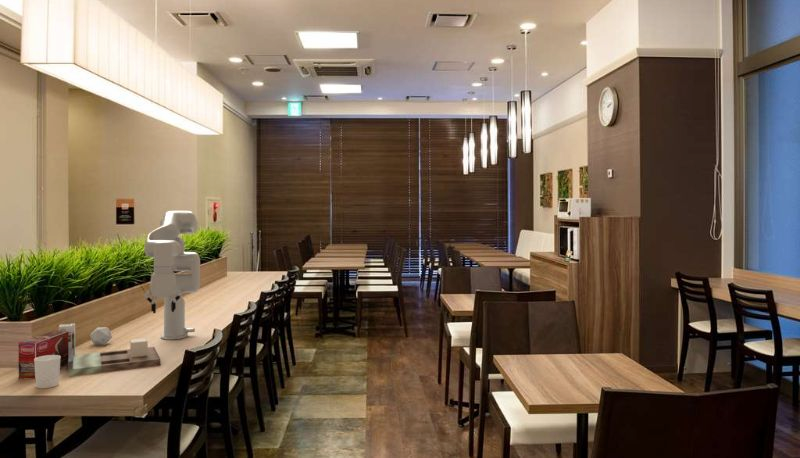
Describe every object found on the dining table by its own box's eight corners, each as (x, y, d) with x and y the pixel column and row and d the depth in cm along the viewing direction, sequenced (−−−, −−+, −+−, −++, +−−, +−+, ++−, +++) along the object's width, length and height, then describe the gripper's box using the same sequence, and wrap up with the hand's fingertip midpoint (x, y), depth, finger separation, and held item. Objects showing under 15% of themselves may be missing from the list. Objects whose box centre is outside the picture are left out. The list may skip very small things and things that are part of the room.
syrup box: (58, 361, 223) (58, 326, 223) (59, 357, 229) (59, 323, 228) (74, 359, 226) (74, 325, 226) (75, 356, 231) (75, 322, 231)
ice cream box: (36, 378, 200) (35, 343, 200) (18, 378, 200) (18, 342, 200) (68, 363, 220) (68, 331, 220) (52, 363, 220) (52, 331, 220)
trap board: (154, 352, 239) (154, 340, 239) (160, 365, 219) (160, 351, 219) (69, 361, 223) (69, 348, 223) (68, 376, 203) (68, 361, 203)
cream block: (146, 352, 230) (146, 338, 230) (147, 355, 225) (147, 341, 224) (130, 353, 227) (130, 339, 227) (131, 357, 222) (131, 342, 221)
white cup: (42, 382, 196) (42, 355, 195) (65, 382, 196) (64, 354, 196) (29, 389, 188) (29, 360, 187) (53, 389, 188) (52, 360, 188)
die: (96, 349, 247) (110, 331, 250) (82, 338, 248) (96, 321, 251) (105, 351, 255) (119, 333, 257) (91, 341, 256) (105, 324, 259)
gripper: (183, 268, 237) (183, 309, 238) (140, 270, 228) (140, 312, 229) (186, 270, 231) (186, 312, 231) (141, 272, 222) (141, 315, 222)
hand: (163, 311), depth 230 cm, fingers open, 6 cm apart
